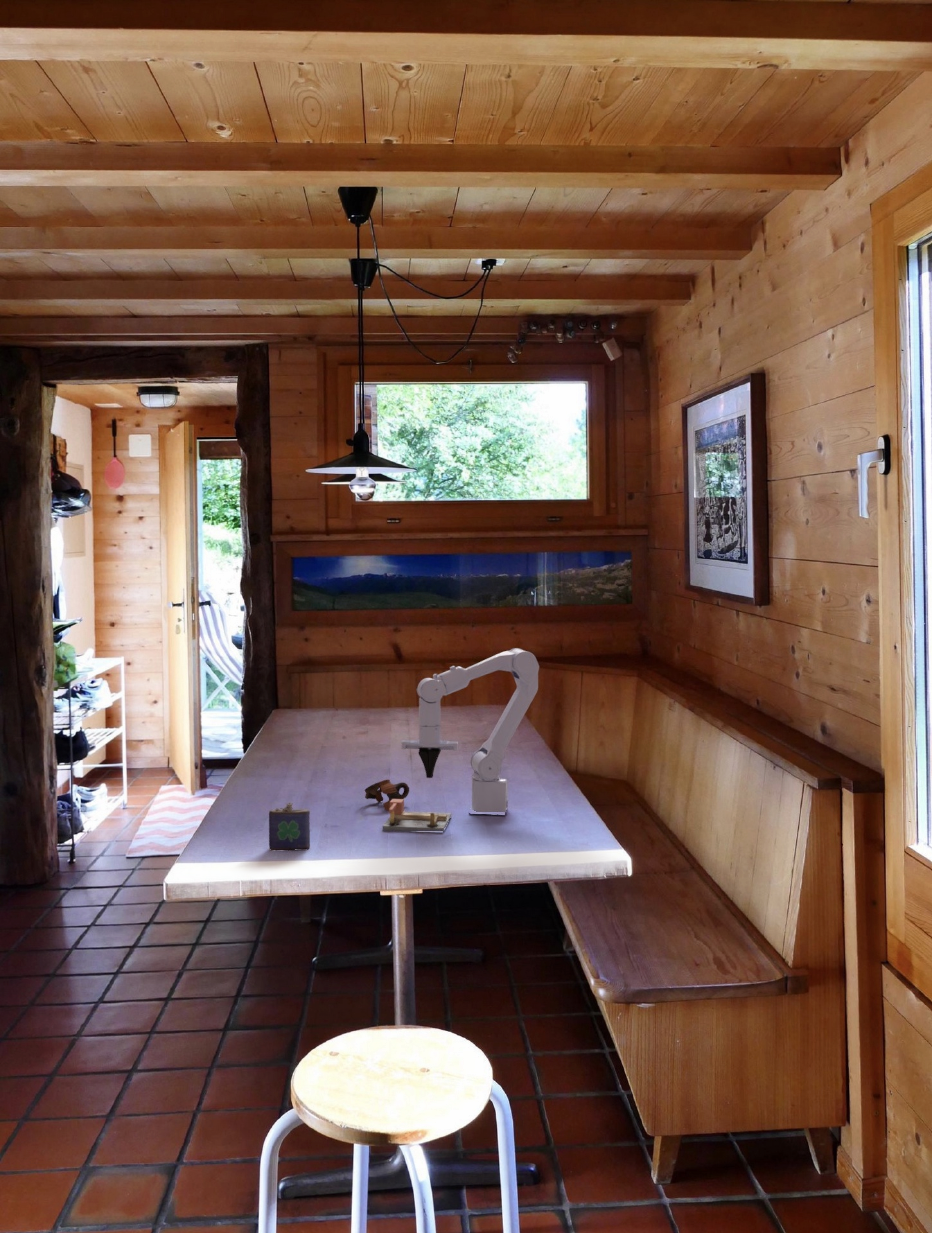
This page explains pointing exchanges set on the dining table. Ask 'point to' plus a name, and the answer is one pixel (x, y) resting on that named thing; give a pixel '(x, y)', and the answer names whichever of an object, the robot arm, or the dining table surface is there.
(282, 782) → the dining table surface
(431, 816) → the beam
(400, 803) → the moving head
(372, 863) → the dining table surface
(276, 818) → the flask
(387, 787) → the pottery mug
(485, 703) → the dining table surface
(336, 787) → the dining table surface
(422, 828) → the bolt plate
